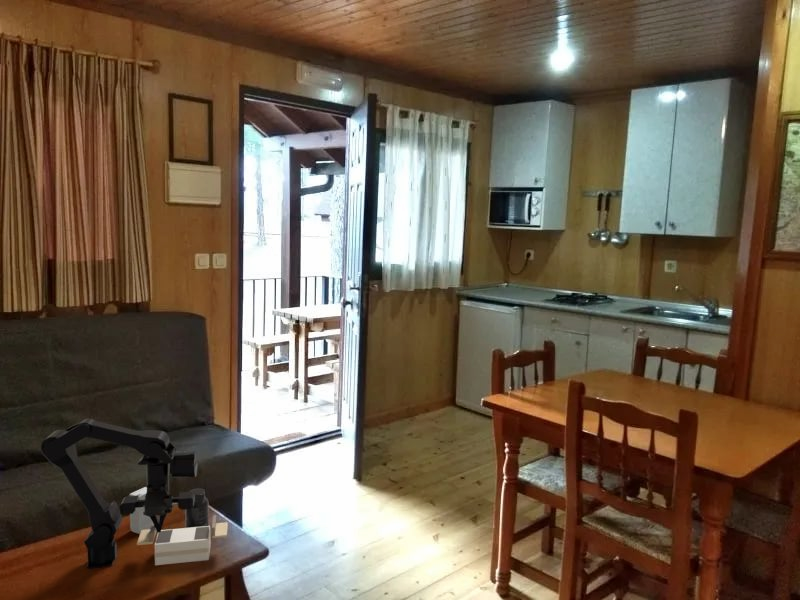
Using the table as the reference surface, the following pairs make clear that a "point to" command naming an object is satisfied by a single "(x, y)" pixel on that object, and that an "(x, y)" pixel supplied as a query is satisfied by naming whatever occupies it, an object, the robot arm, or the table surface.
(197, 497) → the supplement bottle
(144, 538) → the flap near
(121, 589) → the table surface
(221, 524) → the flap far
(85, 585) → the table surface
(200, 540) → the carton
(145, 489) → the skincare box
